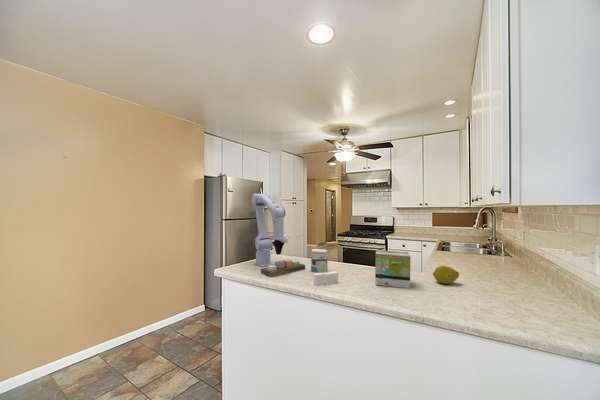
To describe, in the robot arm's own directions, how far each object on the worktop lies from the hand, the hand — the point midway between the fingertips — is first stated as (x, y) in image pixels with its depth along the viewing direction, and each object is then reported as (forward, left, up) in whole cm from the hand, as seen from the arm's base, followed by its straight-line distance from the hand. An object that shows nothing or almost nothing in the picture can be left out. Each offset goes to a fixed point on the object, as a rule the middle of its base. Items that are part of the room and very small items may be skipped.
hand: (278, 254), depth 138 cm
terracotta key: (0, +6, -7) cm, 9 cm away
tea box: (+50, +30, -10) cm, 59 cm away
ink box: (+13, +18, -10) cm, 25 cm away
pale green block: (0, +11, -9) cm, 14 cm away
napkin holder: (+29, +7, -11) cm, 32 cm away
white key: (0, -5, -9) cm, 10 cm away
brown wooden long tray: (0, +3, -10) cm, 10 cm away
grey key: (0, +1, -7) cm, 7 cm away
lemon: (+66, +49, -10) cm, 83 cm away
